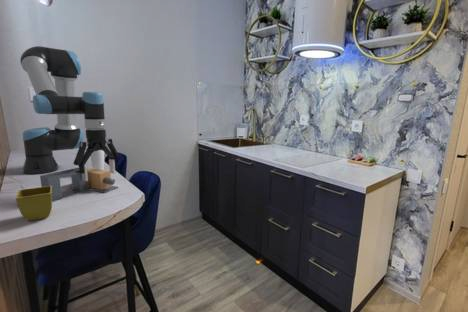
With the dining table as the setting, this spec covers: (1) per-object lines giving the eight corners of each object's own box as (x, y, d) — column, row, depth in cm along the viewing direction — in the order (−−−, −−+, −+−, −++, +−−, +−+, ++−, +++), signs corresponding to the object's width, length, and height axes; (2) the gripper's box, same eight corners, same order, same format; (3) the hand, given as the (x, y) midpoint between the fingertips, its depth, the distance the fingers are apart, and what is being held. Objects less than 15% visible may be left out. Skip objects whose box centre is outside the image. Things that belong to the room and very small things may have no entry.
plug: (75, 183, 112) (74, 169, 111) (85, 180, 117) (84, 166, 115) (107, 191, 104) (106, 175, 103) (117, 187, 109) (116, 172, 107)
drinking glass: (108, 172, 134) (106, 146, 131) (96, 175, 128) (94, 147, 125) (101, 170, 137) (99, 144, 134) (89, 173, 131) (86, 146, 128)
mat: (71, 184, 112) (71, 183, 112) (85, 180, 119) (85, 179, 118) (104, 192, 104) (104, 191, 104) (118, 188, 110) (118, 186, 110)
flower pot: (19, 225, 74) (15, 198, 73) (22, 215, 81) (18, 189, 79) (54, 218, 79) (51, 192, 78) (54, 209, 86) (51, 185, 85)
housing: (43, 199, 94) (40, 175, 92) (81, 188, 108) (79, 167, 106) (51, 202, 92) (47, 177, 90) (89, 190, 106) (87, 168, 104)
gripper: (72, 132, 92) (77, 185, 96) (125, 127, 114) (128, 171, 118) (59, 130, 95) (65, 182, 99) (114, 126, 117) (116, 169, 121)
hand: (99, 176), depth 109 cm, fingers open, 13 cm apart
